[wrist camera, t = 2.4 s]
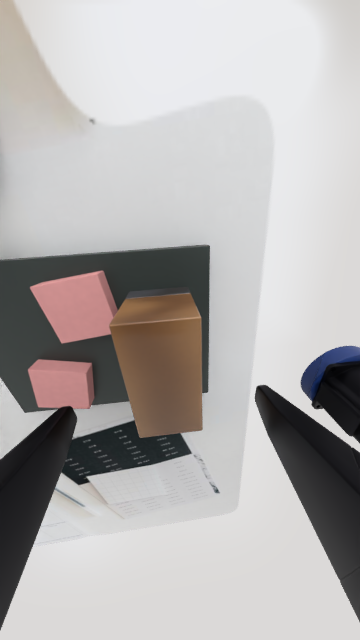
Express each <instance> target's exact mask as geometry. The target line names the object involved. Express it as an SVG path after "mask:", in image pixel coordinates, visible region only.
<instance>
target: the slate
mask: <svg viewBox="0 0 360 640" xmlns="http://www.w3.org/2000/svg"><path fill="white" fill-rule="evenodd" d="M209 260H210V246H209V245H196V246H182V247H169V248H155V249H142V250H128V251H114V252H101V253H87V254H74V255H60V256H46V257H33V258H19V259H6V260H0V377H1V379H2V380H3V382H4V383H5V385H6V386H7V387H8V389H9V390H10V392H11V393H12V395H13V396H14V398H15V399H16V401H17V402H18V403H19V405H20V406H21V408H22V409H23V411H24V412H25V413H27V412H36V411H45V410H54V409H59V408H44V407H38V405H37V401H36V398H35V394H34V391H33V387H32V383H31V380H30V376H29V372H28V369H29V368H30V367H31V366H32V365H33V364H34V363H35V362H36V361H37V360H38V359H41V360H56V361H71V362H86V363H92V371H93V385H94V400H93V402H92V404H91V405H99V404H108V403H117V402H126V401H129V397H128V394H127V390H126V386H125V383H124V379H123V375H122V372H121V368H120V365H119V361H118V357H117V354H116V350H115V346H114V343H113V339H112V336H111V334H110V335H104V336H99V337H94V338H89V339H84V340H78V341H73V342H68V343H63V344H62V343H61V341H60V339H59V338H58V336H57V334H56V333H55V331H54V329H53V327H52V326H51V324H50V322H49V320H48V319H47V317H46V315H45V313H44V312H43V310H42V308H41V306H40V305H39V303H38V301H37V299H36V298H35V296H34V294H33V292H32V291H31V289H30V287H31V286H34V285H36V284H39V283H42V282H46V281H51V280H56V279H61V278H67V277H72V276H77V275H82V274H87V273H92V272H97V271H104V274H105V277H106V279H107V282H108V285H109V288H110V290H111V293H112V296H113V299H114V301H115V304H116V307H117V310H119V308H120V307H121V305H122V303H123V302H124V300H125V298H126V297H127V295H128V293H129V292H130V291H142V290H154V289H165V288H177V287H188V288H189V291H190V293H191V296H192V298H193V300H194V302H195V305H196V307H197V309H198V311H199V314H200V316H201V330H202V393H207V392H208V353H209Z"/></svg>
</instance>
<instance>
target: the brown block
mask: <svg viewBox="0 0 360 640" xmlns="http://www.w3.org/2000/svg"><path fill="white" fill-rule="evenodd" d="M109 328H110V332H111V336H112V339H113V343H114V346H115V350H116V354H117V357H118V361H119V365H120V368H121V372H122V375H123V379H124V383H125V386H126V390H127V394H128V397H129V401H130V404H131V408H132V412H133V415H134V419H135V423H136V426H137V430H138V433H139V437H140V438H143V437H151V436H160V435H168V434H176V433H185V432H193V431H201V430H202V429H203V428H202V330H201V316H200V314H199V311H198V309H197V307H196V305H195V302H194V300H193V298H192V296H191V293H190V291H189V288H188V287H177V288H165V289H154V290H142V291H130V292H129V293H128V295H127V297H126V298H125V300H124V302H123V303H122V305H121V307H120V308H119V310H118V312H117V313H116V315H115V316H114V318H113V320H112V321H111V323H110V324H109Z"/></svg>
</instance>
